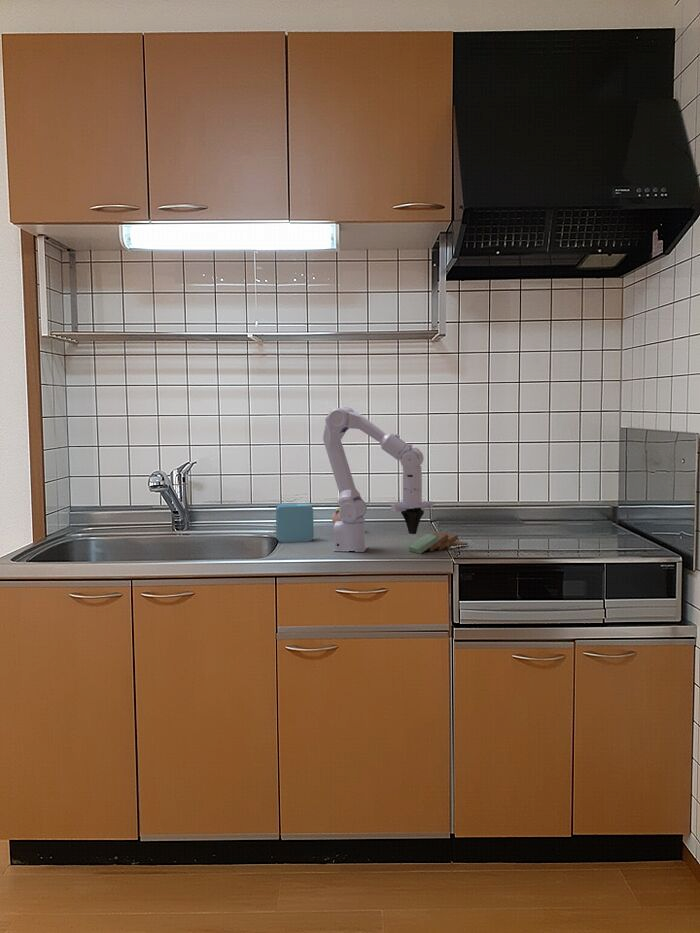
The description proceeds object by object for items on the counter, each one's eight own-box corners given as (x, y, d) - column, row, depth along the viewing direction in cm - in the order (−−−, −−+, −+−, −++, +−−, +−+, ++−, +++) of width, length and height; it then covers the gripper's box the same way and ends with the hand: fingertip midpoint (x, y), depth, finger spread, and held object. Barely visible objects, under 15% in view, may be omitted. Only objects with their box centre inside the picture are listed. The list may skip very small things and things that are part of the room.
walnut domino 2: (439, 545, 243) (457, 534, 247) (428, 543, 247) (445, 532, 251) (440, 550, 243) (458, 539, 248) (429, 548, 247) (446, 537, 252)
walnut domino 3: (448, 546, 245) (467, 543, 249) (437, 543, 249) (457, 540, 253) (448, 551, 245) (467, 548, 249) (437, 548, 249) (457, 545, 254)
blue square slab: (312, 538, 265) (311, 503, 264) (313, 541, 261) (313, 505, 260) (276, 540, 264) (275, 504, 262) (277, 542, 259) (276, 506, 258)
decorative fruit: (347, 536, 269) (346, 507, 268) (328, 533, 274) (328, 505, 273) (363, 532, 276) (363, 503, 275) (345, 529, 281) (344, 502, 280)
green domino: (418, 549, 238) (437, 536, 242) (408, 546, 242) (426, 533, 246) (420, 553, 239) (438, 540, 243) (409, 551, 243) (428, 538, 247)
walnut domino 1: (429, 547, 241) (447, 533, 245) (418, 544, 245) (435, 531, 249) (431, 551, 241) (448, 538, 245) (420, 549, 245) (437, 536, 249)
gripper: (401, 492, 231) (401, 538, 233) (439, 488, 239) (439, 532, 241) (386, 489, 237) (387, 534, 238) (424, 486, 245) (424, 529, 246)
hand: (412, 533), depth 240 cm, fingers closed
